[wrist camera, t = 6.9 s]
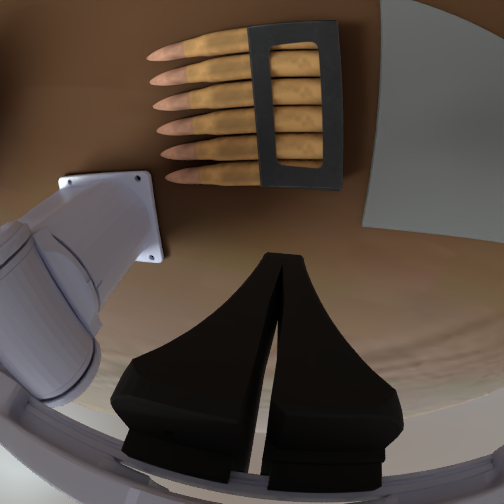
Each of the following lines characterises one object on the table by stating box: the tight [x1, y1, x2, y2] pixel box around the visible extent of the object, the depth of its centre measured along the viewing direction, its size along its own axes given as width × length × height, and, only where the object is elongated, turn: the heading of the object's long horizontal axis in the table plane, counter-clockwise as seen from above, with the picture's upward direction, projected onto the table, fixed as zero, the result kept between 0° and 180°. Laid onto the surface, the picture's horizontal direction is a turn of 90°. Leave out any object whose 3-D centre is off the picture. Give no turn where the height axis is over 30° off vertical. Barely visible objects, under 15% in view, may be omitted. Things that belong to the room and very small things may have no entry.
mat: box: [362, 0, 504, 243], centre depth 15 cm, size 15×17×1 cm
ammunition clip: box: [147, 20, 343, 191], centre depth 16 cm, size 11×2×12 cm
